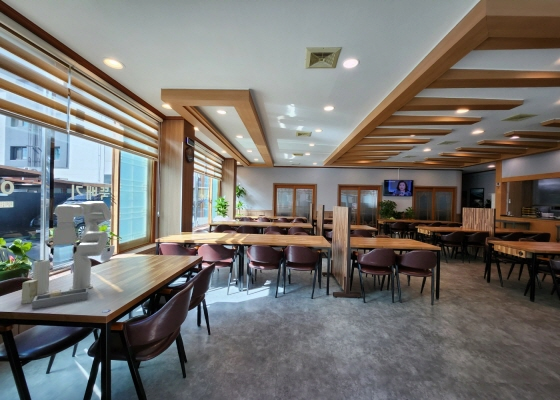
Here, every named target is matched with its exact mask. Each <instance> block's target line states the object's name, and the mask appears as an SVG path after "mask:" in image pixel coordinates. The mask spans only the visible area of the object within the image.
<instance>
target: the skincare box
mask: <svg viewBox="0 0 560 400" xmlns="http://www.w3.org/2000/svg"><path fill="white" fill-rule="evenodd" d="M21 286H22V287H21V288H22V289H21V302H20V303H21V305H23V304H24V305H25V304H31V303H33V300H34V298H35V296H38V295H37V290H38V280H33V279H29V280H27V281H24V282H22V285H21Z"/></svg>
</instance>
